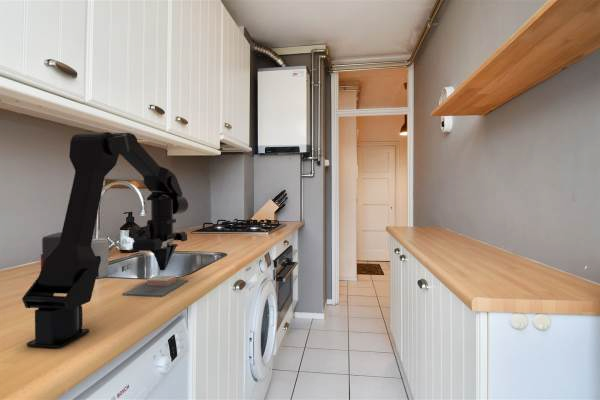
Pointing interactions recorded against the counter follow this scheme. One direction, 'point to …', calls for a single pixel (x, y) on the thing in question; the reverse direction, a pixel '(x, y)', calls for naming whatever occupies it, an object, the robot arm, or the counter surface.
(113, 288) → the counter surface
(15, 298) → the counter surface
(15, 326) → the counter surface
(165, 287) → the mat
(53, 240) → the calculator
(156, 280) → the tile
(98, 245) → the beverage can
